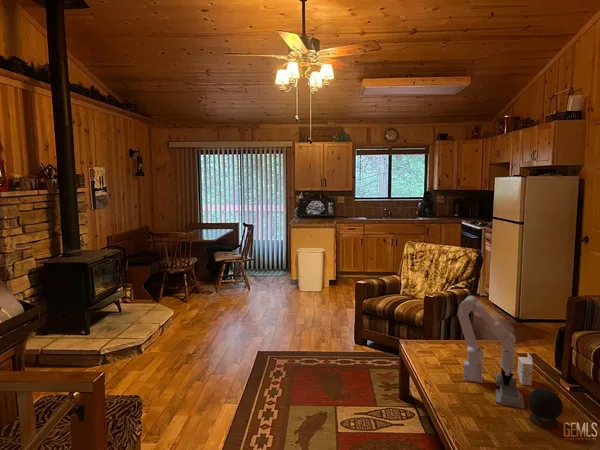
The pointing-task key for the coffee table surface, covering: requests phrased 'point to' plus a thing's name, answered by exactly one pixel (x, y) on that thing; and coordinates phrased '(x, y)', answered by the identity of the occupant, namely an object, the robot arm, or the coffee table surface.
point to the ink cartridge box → (525, 370)
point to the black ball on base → (545, 408)
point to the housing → (500, 380)
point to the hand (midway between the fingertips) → (506, 383)
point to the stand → (509, 396)
